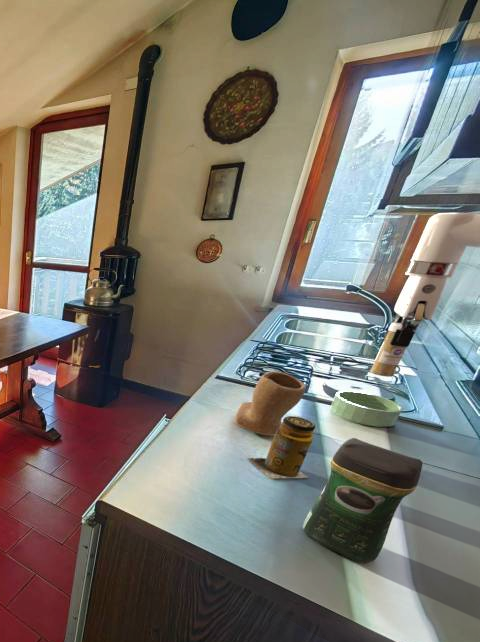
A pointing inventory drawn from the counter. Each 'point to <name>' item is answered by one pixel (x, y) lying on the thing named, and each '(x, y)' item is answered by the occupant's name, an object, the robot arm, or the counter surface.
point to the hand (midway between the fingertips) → (396, 342)
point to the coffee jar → (361, 499)
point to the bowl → (365, 408)
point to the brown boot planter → (270, 403)
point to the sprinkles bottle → (388, 355)
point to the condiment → (287, 449)
